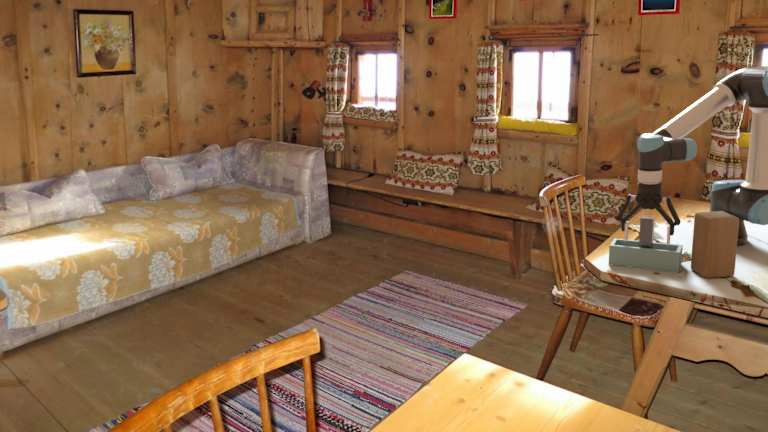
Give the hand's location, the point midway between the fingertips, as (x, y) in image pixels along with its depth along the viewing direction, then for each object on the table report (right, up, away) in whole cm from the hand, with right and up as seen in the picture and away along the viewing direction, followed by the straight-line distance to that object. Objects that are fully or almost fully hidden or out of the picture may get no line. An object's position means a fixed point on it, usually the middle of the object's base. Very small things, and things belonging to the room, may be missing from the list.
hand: (646, 242), depth 227 cm
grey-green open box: (0, -8, +2) cm, 8 cm away
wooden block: (+18, -10, -9) cm, 22 cm away
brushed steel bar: (0, -7, +2) cm, 7 cm away
